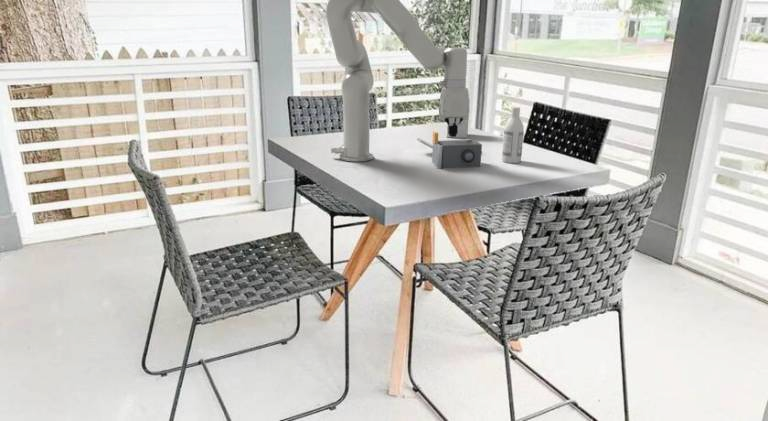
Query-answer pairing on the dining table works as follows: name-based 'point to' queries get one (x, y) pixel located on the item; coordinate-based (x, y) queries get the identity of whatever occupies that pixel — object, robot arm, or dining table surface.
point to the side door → (436, 151)
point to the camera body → (461, 153)
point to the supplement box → (459, 129)
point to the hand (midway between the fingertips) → (452, 136)
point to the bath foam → (513, 138)
